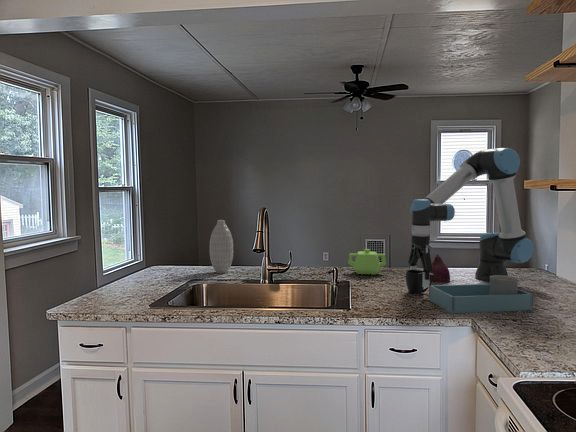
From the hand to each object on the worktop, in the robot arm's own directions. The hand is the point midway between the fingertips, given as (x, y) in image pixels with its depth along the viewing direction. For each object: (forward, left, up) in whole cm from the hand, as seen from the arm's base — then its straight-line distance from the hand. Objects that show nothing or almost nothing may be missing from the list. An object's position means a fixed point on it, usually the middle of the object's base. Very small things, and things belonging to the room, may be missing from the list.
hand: (419, 283), depth 206 cm
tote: (-15, +22, -4) cm, 27 cm away
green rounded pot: (+9, -49, -4) cm, 50 cm away
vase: (+86, -61, -4) cm, 105 cm away
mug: (0, 0, -4) cm, 4 cm away
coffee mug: (-24, +23, -3) cm, 33 cm away
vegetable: (-20, -24, -4) cm, 32 cm away
